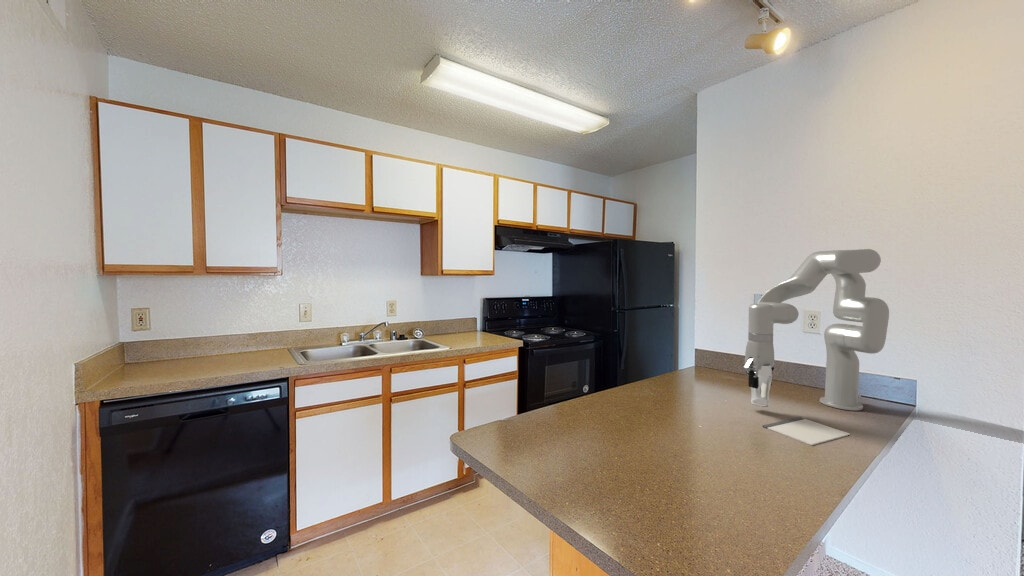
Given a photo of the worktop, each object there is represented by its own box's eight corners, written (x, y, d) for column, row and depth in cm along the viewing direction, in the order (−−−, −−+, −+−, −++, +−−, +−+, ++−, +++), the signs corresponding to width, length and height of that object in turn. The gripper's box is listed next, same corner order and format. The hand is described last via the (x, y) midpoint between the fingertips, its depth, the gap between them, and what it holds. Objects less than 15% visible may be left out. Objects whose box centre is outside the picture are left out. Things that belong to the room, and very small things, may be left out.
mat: (800, 418, 129) (800, 417, 129) (850, 435, 116) (850, 433, 116) (762, 426, 122) (762, 425, 122) (811, 445, 108) (811, 444, 108)
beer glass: (764, 400, 138) (764, 361, 138) (775, 407, 131) (776, 366, 131) (744, 400, 139) (745, 361, 138) (755, 407, 132) (755, 365, 132)
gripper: (765, 334, 141) (765, 380, 142) (734, 338, 134) (733, 386, 135) (786, 337, 134) (786, 385, 135) (754, 341, 127) (754, 392, 128)
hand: (759, 385), depth 135 cm, fingers closed on beer glass, 6 cm apart
